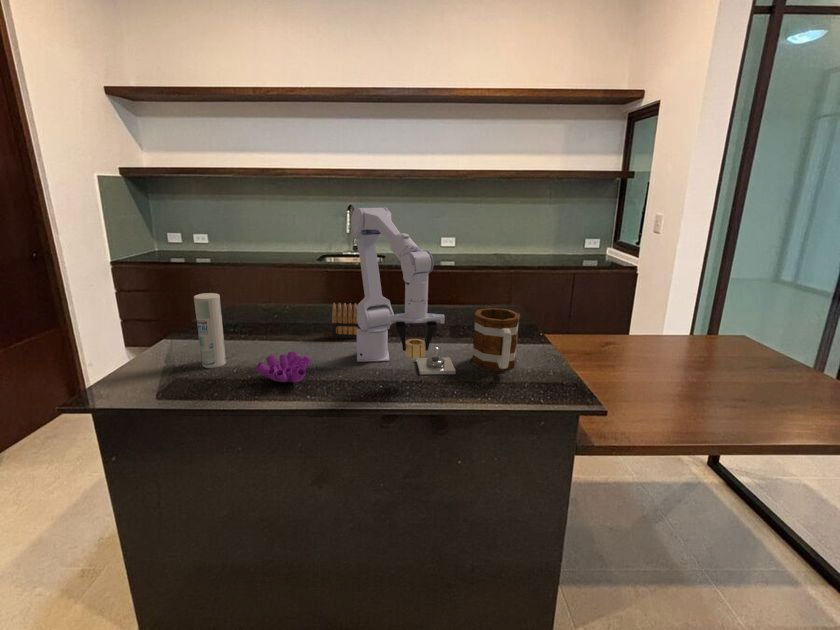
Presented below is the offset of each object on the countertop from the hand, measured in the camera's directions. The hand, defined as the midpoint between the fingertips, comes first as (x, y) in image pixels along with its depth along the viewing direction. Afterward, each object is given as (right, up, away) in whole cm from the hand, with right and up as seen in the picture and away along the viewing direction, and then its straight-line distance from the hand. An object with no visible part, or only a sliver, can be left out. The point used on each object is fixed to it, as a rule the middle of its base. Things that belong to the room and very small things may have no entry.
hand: (415, 349), depth 122 cm
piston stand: (+6, -6, +13) cm, 15 cm away
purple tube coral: (-34, -8, +3) cm, 36 cm away
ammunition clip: (-23, +1, +37) cm, 44 cm away
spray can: (-58, -5, +12) cm, 59 cm away
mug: (+24, -6, +15) cm, 29 cm away
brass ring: (0, -1, 0) cm, 2 cm away
